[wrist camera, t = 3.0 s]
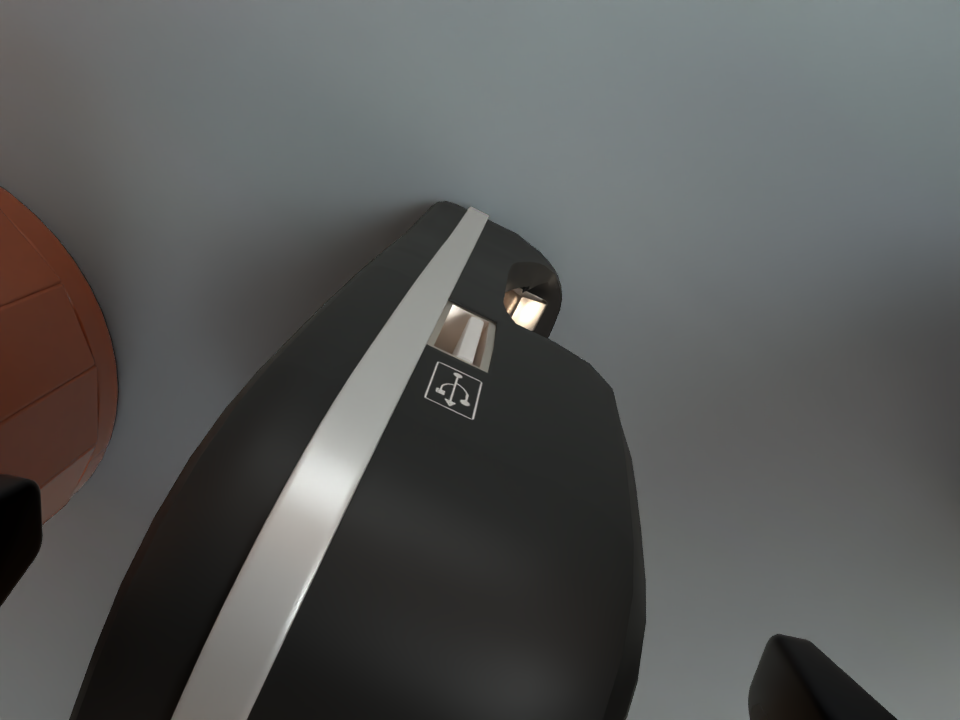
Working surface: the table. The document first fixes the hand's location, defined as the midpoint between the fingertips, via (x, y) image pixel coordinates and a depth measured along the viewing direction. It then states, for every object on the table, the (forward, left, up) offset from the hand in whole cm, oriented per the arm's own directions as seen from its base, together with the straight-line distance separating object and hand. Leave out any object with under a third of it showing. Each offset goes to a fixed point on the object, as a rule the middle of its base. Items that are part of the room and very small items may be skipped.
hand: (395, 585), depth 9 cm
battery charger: (0, 0, -7) cm, 7 cm away
